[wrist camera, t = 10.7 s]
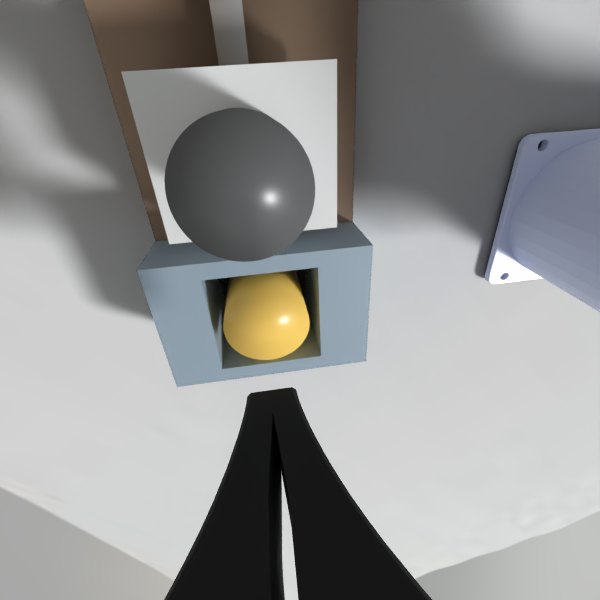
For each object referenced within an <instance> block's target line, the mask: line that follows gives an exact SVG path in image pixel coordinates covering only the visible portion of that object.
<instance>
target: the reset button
mask: <svg viewBox="0 0 600 600" xmlns="http://www.w3.org/2000/svg"><path fill="white" fill-rule="evenodd" d="M309 326H310V320H309V315H308V312H307V308H306V304H305V301H304V297H303V294H302V290H301V287H300V283H299V279H298V276H297V272H296V270H291V271H282V272H273V273H264V274H255V275H246V276H237V277H229V278H228V287H227V296H226V304H225V313H224V322H223V330H224V334H225V337H226V339H227V341H228V343H229V344H230V345H231V347H232V348H233V349H235V350H236V351H237V352H239V353H240V354H242V355H244V356H246V357H249V358H252V359H258V360H272V359H277V358H281V357H283V356H286V355H288V354H290V353H292V352H293V351H295V350H296V349H297V348H298V347H299V346H300V345H301V344H302V343H303V341H304V340H305V338H306V336H307V334H308V331H309Z"/></svg>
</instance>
